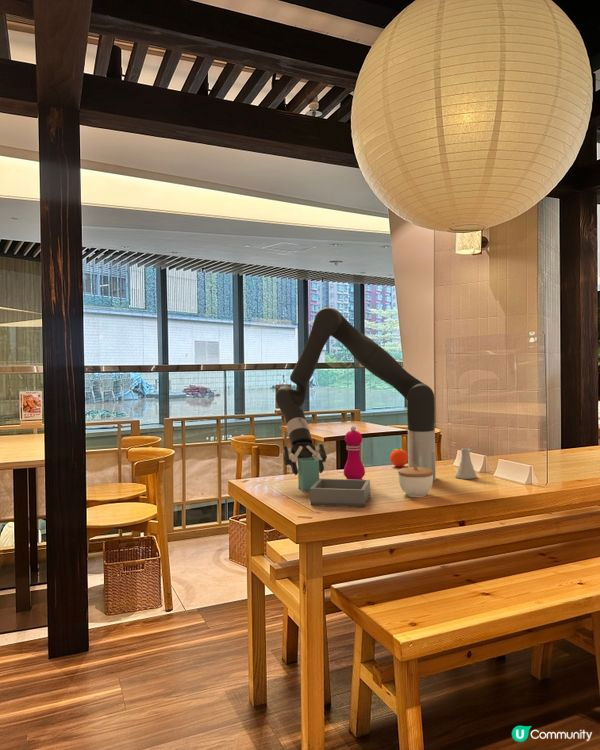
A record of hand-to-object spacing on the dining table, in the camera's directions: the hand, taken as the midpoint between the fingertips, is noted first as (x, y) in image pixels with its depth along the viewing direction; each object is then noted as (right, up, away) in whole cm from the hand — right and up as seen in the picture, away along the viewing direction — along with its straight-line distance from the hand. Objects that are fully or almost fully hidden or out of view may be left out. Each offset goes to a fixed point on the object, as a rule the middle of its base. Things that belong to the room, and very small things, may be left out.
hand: (309, 472), depth 197 cm
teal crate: (0, -6, +1) cm, 6 cm away
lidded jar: (+33, -6, -10) cm, 35 cm away
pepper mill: (+15, -5, +5) cm, 17 cm away
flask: (+55, -4, +13) cm, 57 cm away
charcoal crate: (+10, -6, -15) cm, 19 cm away
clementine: (+35, -4, +36) cm, 50 cm away
